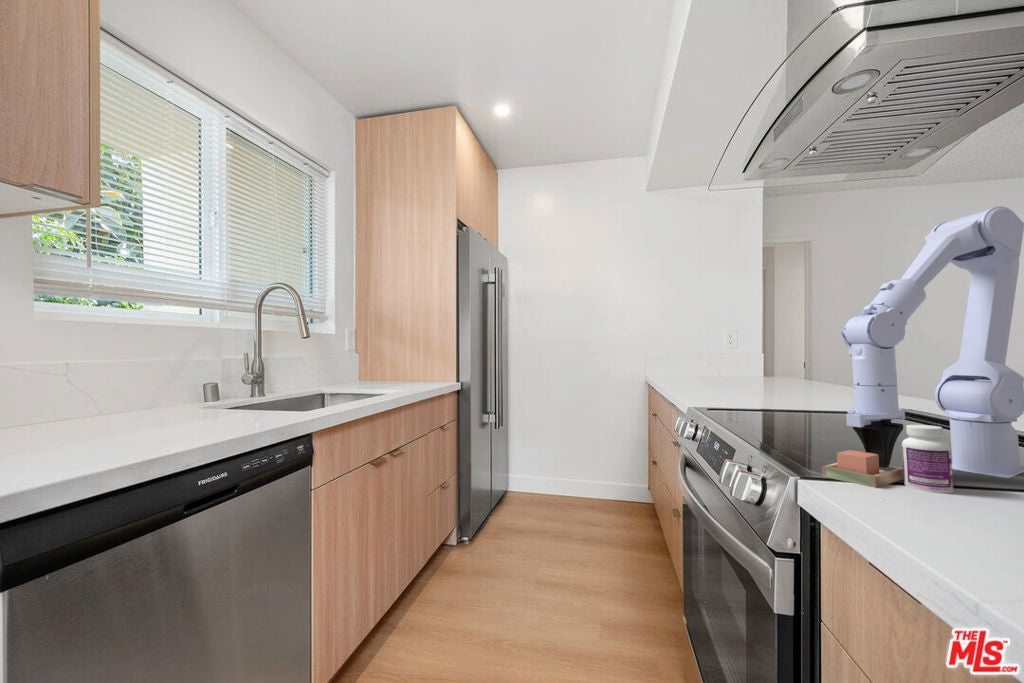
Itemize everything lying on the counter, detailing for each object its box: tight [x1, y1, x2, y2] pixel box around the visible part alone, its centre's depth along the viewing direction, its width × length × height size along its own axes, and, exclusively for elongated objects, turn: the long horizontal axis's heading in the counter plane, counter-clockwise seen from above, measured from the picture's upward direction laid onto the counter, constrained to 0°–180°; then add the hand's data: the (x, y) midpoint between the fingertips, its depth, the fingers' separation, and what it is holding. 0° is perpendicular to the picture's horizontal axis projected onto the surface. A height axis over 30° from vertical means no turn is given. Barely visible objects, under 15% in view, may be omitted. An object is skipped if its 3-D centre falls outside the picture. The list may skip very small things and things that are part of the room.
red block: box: [836, 449, 879, 475], centre depth 70 cm, size 4×4×4 cm
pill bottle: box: [901, 424, 954, 494], centre depth 65 cm, size 5×5×10 cm
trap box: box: [821, 462, 904, 489], centre depth 72 cm, size 16×7×2 cm, turn 117°
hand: (879, 466), depth 73 cm, fingers closed
